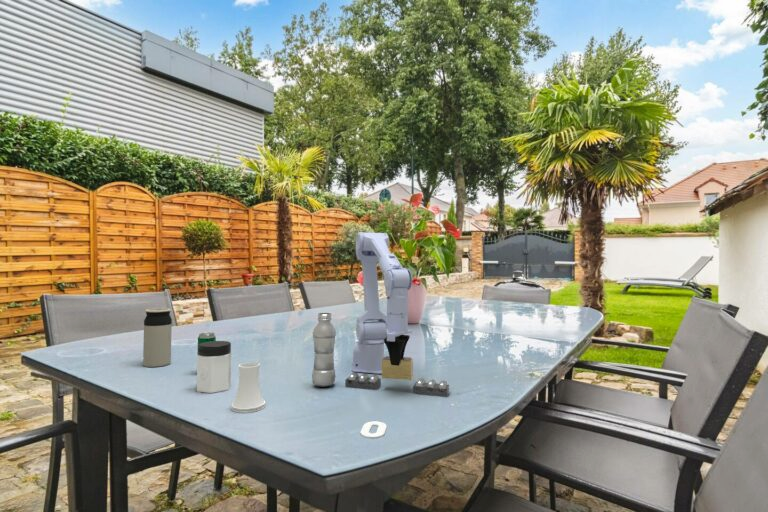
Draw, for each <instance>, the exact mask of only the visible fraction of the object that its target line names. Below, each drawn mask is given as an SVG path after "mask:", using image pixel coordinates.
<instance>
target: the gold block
mask: <svg viewBox="0 0 768 512" xmlns="http://www.w3.org/2000/svg"><path fill="white" fill-rule="evenodd" d="M413 378H414V359H413V358H412V357H410V356H404V357H403V358H401V359H400V364H399V366H397V365H391V362H390V357H389V355H385V356H384V358H383V359H382V373H381V379H388V380H389V379H391V380H406V381H412V379H413Z"/></svg>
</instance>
